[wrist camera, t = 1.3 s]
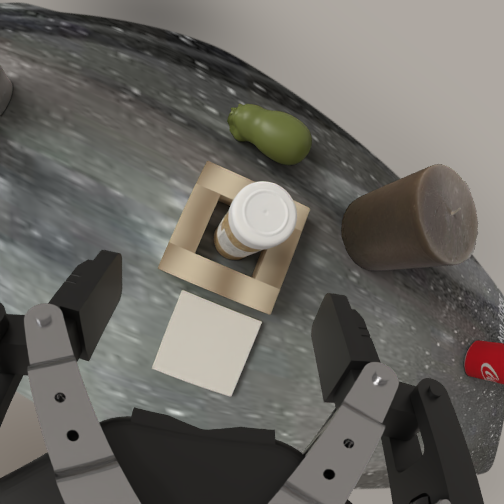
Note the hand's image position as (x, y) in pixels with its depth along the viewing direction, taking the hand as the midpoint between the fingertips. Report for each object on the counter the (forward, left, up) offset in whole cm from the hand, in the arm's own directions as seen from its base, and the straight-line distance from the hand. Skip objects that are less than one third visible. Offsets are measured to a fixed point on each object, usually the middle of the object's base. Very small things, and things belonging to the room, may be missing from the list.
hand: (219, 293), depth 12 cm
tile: (+3, -5, -21) cm, 22 cm away
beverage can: (+46, +4, -21) cm, 51 cm away
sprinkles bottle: (+2, +6, -21) cm, 22 cm away
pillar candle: (+18, +14, -21) cm, 31 cm away
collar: (+2, +6, -21) cm, 22 cm away
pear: (0, +19, -21) cm, 28 cm away
